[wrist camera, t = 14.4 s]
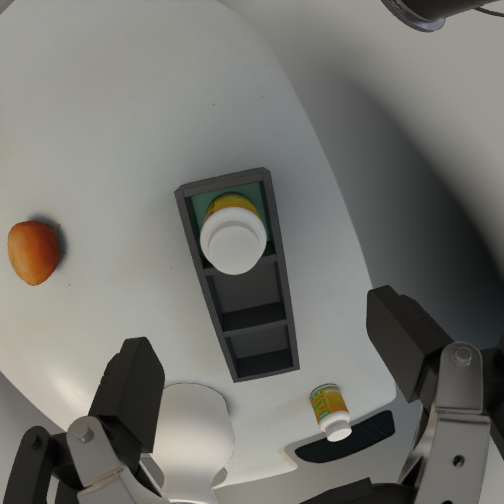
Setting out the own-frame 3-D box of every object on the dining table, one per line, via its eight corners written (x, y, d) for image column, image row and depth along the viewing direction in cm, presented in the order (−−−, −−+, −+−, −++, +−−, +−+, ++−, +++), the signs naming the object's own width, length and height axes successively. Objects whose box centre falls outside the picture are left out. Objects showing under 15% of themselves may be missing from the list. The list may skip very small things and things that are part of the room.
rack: (263, 167, 29) (270, 170, 25) (293, 348, 39) (300, 369, 35) (181, 185, 29) (174, 192, 25) (232, 361, 39) (233, 383, 35)
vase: (249, 400, 43) (263, 505, 25) (202, 432, 46) (203, 520, 28) (177, 365, 39) (163, 486, 20) (138, 404, 42) (119, 499, 23)
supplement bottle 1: (209, 187, 29) (202, 209, 20) (261, 195, 30) (278, 221, 20) (202, 236, 31) (193, 279, 22) (251, 243, 32) (263, 288, 22)
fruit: (82, 268, 30) (32, 299, 24) (59, 262, 34) (17, 287, 27) (63, 205, 27) (7, 231, 20) (43, 210, 30) (-3, 231, 24)
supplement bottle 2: (316, 383, 43) (332, 427, 34) (343, 383, 44) (361, 424, 35) (305, 402, 45) (317, 444, 36) (330, 402, 46) (345, 442, 37)
